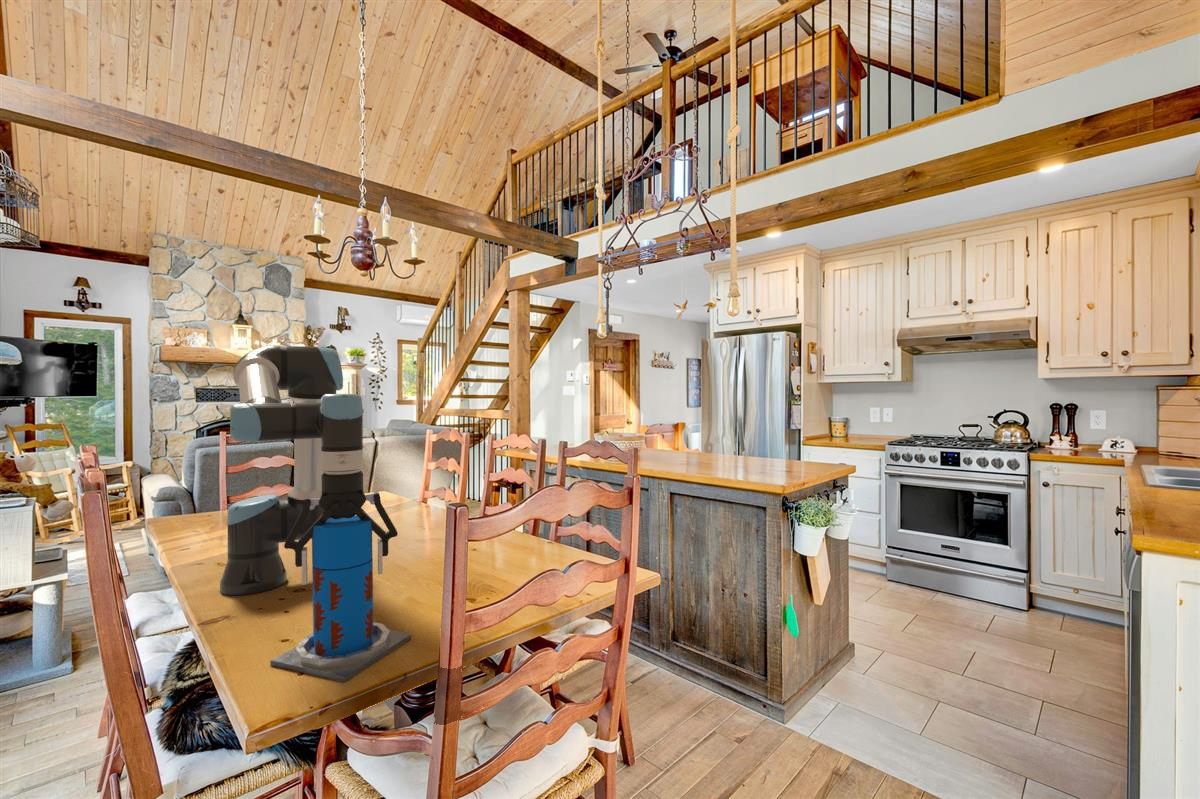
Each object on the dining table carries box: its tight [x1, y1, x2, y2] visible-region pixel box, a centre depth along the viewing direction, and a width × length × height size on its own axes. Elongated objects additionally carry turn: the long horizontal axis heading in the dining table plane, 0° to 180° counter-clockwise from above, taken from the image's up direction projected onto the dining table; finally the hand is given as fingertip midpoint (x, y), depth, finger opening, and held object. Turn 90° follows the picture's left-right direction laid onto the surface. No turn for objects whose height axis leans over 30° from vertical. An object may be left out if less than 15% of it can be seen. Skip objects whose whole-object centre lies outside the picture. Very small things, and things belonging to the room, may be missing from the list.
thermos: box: [311, 515, 374, 657], centre depth 108 cm, size 11×11×25 cm
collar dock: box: [269, 621, 413, 683], centre depth 108 cm, size 18×18×2 cm
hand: (343, 577), depth 108 cm, fingers open, 13 cm apart
